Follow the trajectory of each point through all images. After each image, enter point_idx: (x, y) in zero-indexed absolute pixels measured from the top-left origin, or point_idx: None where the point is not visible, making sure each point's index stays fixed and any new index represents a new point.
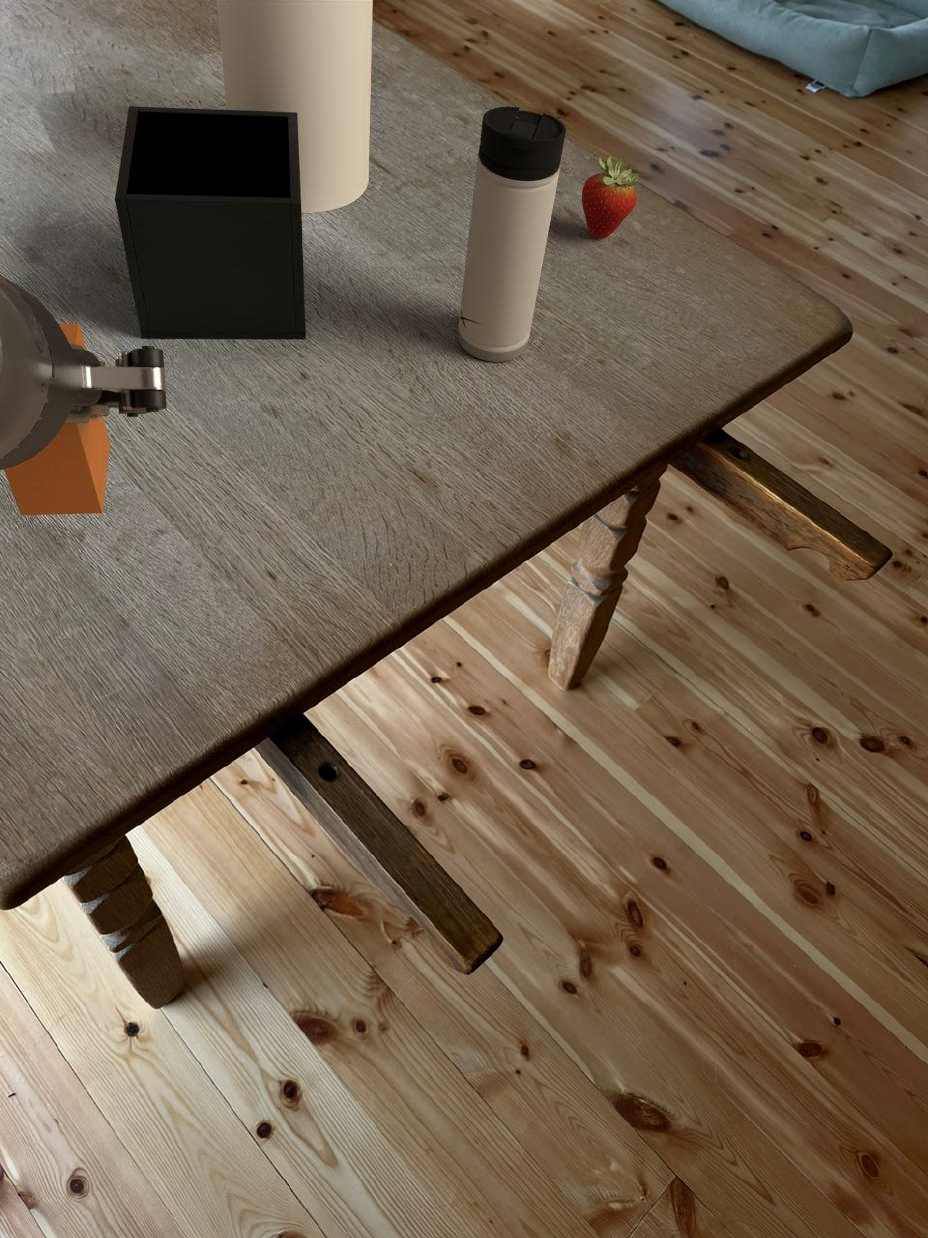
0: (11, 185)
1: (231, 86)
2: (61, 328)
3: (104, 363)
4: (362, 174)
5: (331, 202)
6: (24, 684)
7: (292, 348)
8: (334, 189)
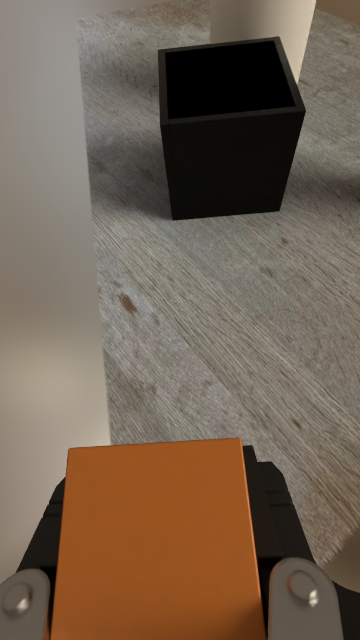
0: (84, 122)
1: (218, 29)
2: (207, 458)
3: (337, 599)
4: None
5: None
6: None
7: (271, 219)
8: None
